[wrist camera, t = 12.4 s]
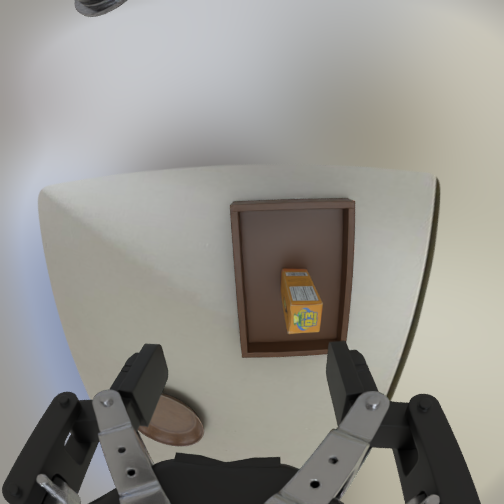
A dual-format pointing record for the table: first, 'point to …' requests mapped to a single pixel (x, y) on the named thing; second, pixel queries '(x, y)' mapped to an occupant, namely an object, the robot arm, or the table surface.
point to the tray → (291, 257)
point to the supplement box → (300, 301)
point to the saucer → (173, 423)
